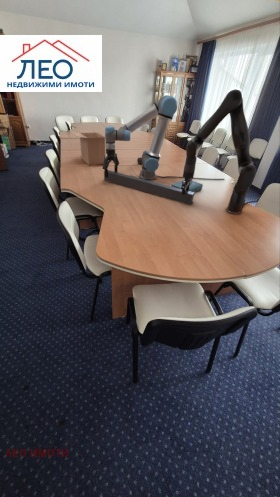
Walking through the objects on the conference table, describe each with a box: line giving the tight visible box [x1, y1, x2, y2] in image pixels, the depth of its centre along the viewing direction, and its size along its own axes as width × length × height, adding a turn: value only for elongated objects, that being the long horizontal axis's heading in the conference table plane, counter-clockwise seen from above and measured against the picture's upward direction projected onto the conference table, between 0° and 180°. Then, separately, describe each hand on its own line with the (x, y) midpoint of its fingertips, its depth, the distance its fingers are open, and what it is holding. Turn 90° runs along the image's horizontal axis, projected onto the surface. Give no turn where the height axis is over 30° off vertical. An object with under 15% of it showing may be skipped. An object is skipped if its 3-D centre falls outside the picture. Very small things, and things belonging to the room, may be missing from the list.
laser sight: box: [136, 154, 143, 165], centre depth 236 cm, size 10×22×10 cm, turn 78°
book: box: [170, 179, 204, 193], centre depth 184 cm, size 23×16×5 cm
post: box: [103, 169, 195, 206], centre depth 177 cm, size 79×5×8 cm, turn 60°
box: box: [70, 129, 106, 166], centre depth 229 cm, size 44×36×27 cm
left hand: (111, 175), depth 189 cm, fingers open, 13 cm apart
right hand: (185, 192), depth 163 cm, fingers open, 8 cm apart
